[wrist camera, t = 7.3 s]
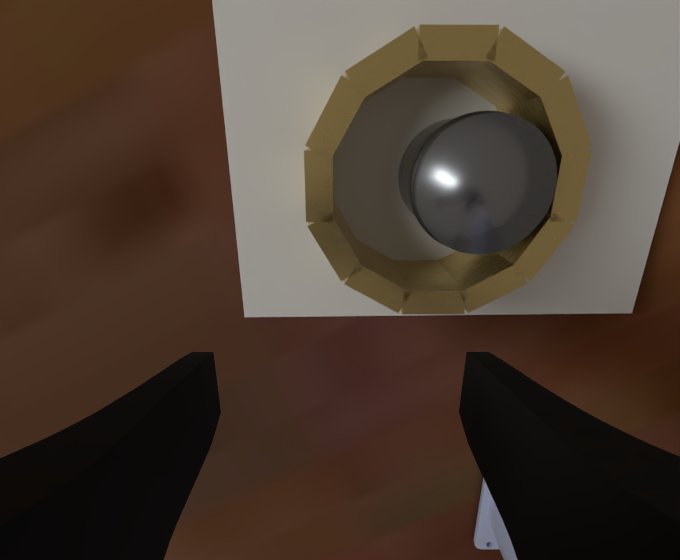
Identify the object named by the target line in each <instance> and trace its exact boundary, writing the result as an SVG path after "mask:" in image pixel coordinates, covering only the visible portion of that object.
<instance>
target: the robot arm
mask: <svg viewBox="0 0 680 560" xmlns="http://www.w3.org/2000/svg"><path fill="white" fill-rule="evenodd" d="M220 413H221V410H220V402H219V394H218V386H217V378H216V370H215V362H214V354H213V352H191V353H189V354H188V355H186V356H184V357H183V358H181V359H179V360H178V361H176V362H175V363H173V364H172V365H170V366H169V367H167V368H166V369H164V370H163V371H161V372H160V373H158V374H157V375H155V376H154V377H152V378H151V379H149V380H148V381H146V382H145V383H143V384H142V385H140V386H139V387H137V388H135V389H134V390H132V391H131V392H129V393H127V394H126V395H124V396H122V397H121V398H119V399H117V400H116V401H114V402H112V403H111V404H109V405H108V406H106V407H104V408H103V409H101V410H99V411H97V412H96V413H94V414H92V415H90V416H89V417H87V418H85V419H83V420H81V421H79V422H77V423H75V424H73V425H72V426H70V427H68V428H66V429H64V430H62V431H60V432H58V433H56V434H54V435H52V436H50V437H47V438H45V439H43V440H41V441H39V442H36V443H34V444H32V445H29V446H27V447H25V448H23V449H20V450H18V451H16V452H14V453H11V454H9V455H7V456H4V457H2V458H0V560H164V557H165V554H166V551H167V548H168V545H169V542H170V539H171V537H172V534H173V532H174V529H175V527H176V524H177V522H178V519H179V517H180V515H181V513H182V510H183V508H184V506H185V504H186V501H187V499H188V497H189V495H190V492H191V490H192V488H193V485H194V483H195V481H196V479H197V476H198V474H199V472H200V470H201V467H202V465H203V463H204V460H205V458H206V456H207V454H208V451H209V449H210V446H211V444H212V441H213V437H214V434H215V431H216V427H217V424H218V420H219V416H220ZM459 413H460V417H461V420H462V424H463V428H464V431H465V434H466V437H467V441H468V444H469V446H470V449H471V451H472V453H473V455H474V458H475V460H476V462H477V465H478V467H479V469H480V471H481V473H482V476H483V484H482V490H481V496H480V503H479V509H478V515H477V522H476V528H475V535H474V543H475V546H476V547H477V548H478V549H500V551H501V554H502V556H503V559H504V560H680V457H679V456H677V455H674V454H672V453H669V452H667V451H665V450H662V449H660V448H658V447H655V446H653V445H651V444H648V443H646V442H644V441H642V440H640V439H637V438H635V437H633V436H631V435H629V434H627V433H625V432H623V431H621V430H619V429H617V428H615V427H613V426H611V425H609V424H607V423H605V422H603V421H601V420H599V419H597V418H595V417H593V416H592V415H590V414H588V413H586V412H584V411H583V410H581V409H579V408H577V407H576V406H574V405H572V404H570V403H569V402H567V401H565V400H564V399H562V398H560V397H559V396H557V395H555V394H554V393H552V392H551V391H549V390H547V389H546V388H544V387H543V386H541V385H539V384H538V383H536V382H535V381H533V380H532V379H530V378H529V377H527V376H526V375H524V374H523V373H521V372H520V371H518V370H516V369H515V368H513V367H512V366H510V365H509V364H507V363H506V362H504V361H503V360H501V359H499V358H498V357H496V356H494V355H493V354H491V353H489V352H467V354H466V362H465V369H464V377H463V385H462V393H461V400H460V408H459Z"/></svg>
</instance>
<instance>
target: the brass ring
mask: <svg viewBox="0 0 680 560" xmlns="http://www.w3.org/2000/svg"><path fill="white" fill-rule="evenodd" d="M564 72H565V71H564V70H563V69H562V68H560V67H559V66H558V65H556V64H555V63H554V62H552V61H551V60H550V59H548V58H547V57H545V56H544V55H543V54H541V53H540V52H539V51H537V50H536V49H535V48H533V47H532V46H531V45H529V44H528V43H526V42H525V41H524V40H522V39H521V38H520V37H518V36H517V35H516V34H514V33H513V32H512V31H510V30H509V29H508V28H506V27H505V26H504V27H503V28H501V29H500V30H499V25H425V24H420V25H419V26H418V28H417V29H415V26H414V27H412V28H411V29H409V30H408V31H406V32H405V33H403V34H401V35H400V36H398V37H397V38H395V39H394V40H392V41H391V42H389V43H388V44H386V45H384V46H383V47H381V48H380V49H378V50H377V51H375V52H374V53H372V54H370V55H369V56H367V57H366V58H364V59H363V60H361V61H360V62H358V63H357V64H355V65H353V66H352V67H350V68H349V69H347V70H346V71H345V76H342V75H341V77H340V79H339V81H338V83H337V84H336V86H335V88H334V90H333V92H332V94H331V96H330V98H329V100H328V102H327V104H326V106H325V108H324V110H323V112H322V113H321V115H320V117H319V119H318V121H317V123H316V125H315V127H314V129H313V131H312V133H311V135H310V137H309V139H308V141H307V143H306V144H305V146H307V147H308V149H306V150H304V173H305V206H306V222H309V223H308V226H307V227H308V228H309V230H310V232H311V233H312V235H313V237H314V238H315V240H316V241H317V243H318V245H319V246H320V248H321V250H322V251H323V253H324V254H325V256H326V258H327V259H328V261H329V263H330V264H331V266H332V267H333V269H334V271H335V272H336V274H337V276H338V277H339V279H340V280H341V281H343V280H344V284H345V285H346V286H348V287H350V288H352V289H354V290H356V291H358V292H359V293H361V294H363V295H365V296H367V297H369V298H371V299H372V300H374V301H376V302H378V303H380V304H382V305H384V306H385V307H387V308H389V309H391V310H393V311H395V312H397V313H399V311H400V310H401V313H402V314H464V311H465V309H466V310H467V312H468V313H470V312H472V311H474V310H476V309H478V308H480V307H482V306H484V305H486V304H488V303H490V302H492V301H494V300H496V299H498V298H500V297H502V296H504V295H506V294H508V293H510V292H512V291H514V290H516V289H518V288H520V287H522V286H524V285H526V284H527V282H526V280H525V278H527V279H529V280H530V281H531V280H532V279H533V278H534V276H535V275H536V274H537V273H538V271H539V270H540V269H541V268H542V266H543V265H544V264H545V263H546V261H547V260H548V259H549V258H550V256H551V255H552V254H553V253H554V251H555V250H556V249H557V248H558V246H559V245H560V244H561V243H562V241H563V240H564V239H565V237H566V236H567V235H568V234H569V232H570V231H571V230H572V229H573V227H574V226H573V225H572V224H570V223H569V222H577V218H578V213H579V208H580V203H581V199H582V194H583V189H584V185H585V180H586V175H587V171H588V166H589V161H590V156H591V152H592V151H591V150H584V149H586V148H588V147H590V146H591V142H590V139H589V136H588V133H587V130H586V127H585V124H584V121H583V118H582V115H581V112H580V109H579V106H578V103H577V100H576V97H575V94H574V91H573V88H572V85H571V82H570V79H569V76H564V77H562V75H563V74H564ZM402 78H456V79H457V80H458V81H460V82H461V83H463V84H464V85H466V86H467V87H469V88H470V89H472V90H473V91H474V92H476V93H477V94H479V95H480V96H482V97H483V98H485V99H486V100H488V101H489V102H490V103H492V104H493V105H495V106H496V109H497V111H499V112H504V113H508V114H512V115H516V116H518V117H521V118H524V119H525V120H527V121H529V122H531V123H532V124H533V125H534V126H536V127H537V128H538V129H539V130H540V131H541V132H542V133H543V134H544V136H545V137H546V139H547V140H548V142H549V143H550V145H551V148H552V150H553V153H554V156H555V159H556V166H557V183H556V189H555V193H554V197H553V200H552V202H551V205H550V207H549V209H548V211H547V213H546V215H545V216H544V218H543V219H542V221H541V222H540V223H539V224H538V226H537V227H536V228H535V229H534V230H533V231H532V232H531V233H530V234H529V235H528V236H526V237H525V238H524V239H523V240H521V241H520V242H518V243H516V244H515V245H513V246H511V247H509V248H507V249H504V250H501V251H498V252H495V253H490V254H480V255H477V254H467V253H462V252H459V251H455V252H453V253H451V254H449V255H447V256H445V257H443V258H442V259H440V260H416V261H394V260H392V259H391V258H389V257H387V256H385V255H383V254H382V253H380V252H378V251H376V250H375V249H373V248H371V247H369V246H368V245H366V244H364V243H362V242H360V241H359V240H357V239H356V238H355V236H354V234H353V232H352V231H351V229H350V227H349V225H348V224H347V222H346V220H345V218H344V217H343V215H342V213H341V212H340V210H339V208H338V206H337V205H336V203H335V201H334V153H335V151H336V149H337V147H338V145H339V144H340V142H341V140H342V138H343V136H344V134H345V133H346V131H347V129H348V127H349V125H350V123H351V122H352V120H353V118H354V116H355V114H356V112H357V111H358V109H359V107H360V105H361V104H362V103H364V102H365V101H367V100H369V99H370V98H372V97H373V96H375V95H377V94H378V93H380V92H381V91H383V90H385V89H386V88H388V87H389V86H391V85H393V84H394V83H396V82H397V81H399V80H401V79H402Z"/></svg>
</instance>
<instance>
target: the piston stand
mask: <svg viewBox="0 0 680 560" xmlns="http://www.w3.org/2000/svg"><path fill="white" fill-rule="evenodd" d="M212 3H213V13H214V22H215V32H216V42H217V52H218V62H219V71H220V81H221V91H222V101H223V110H224V120H225V130H226V140H227V149H228V159H229V169H230V179H231V189H232V198H233V208H234V218H235V228H236V237H237V247H238V257H239V267H240V276H241V286H242V296H243V306H244V316H245V317H310V316H408V315H507V314H605V313H632V311H633V308H634V304H635V301H636V297H637V293H638V290H639V286H640V282H641V279H642V275H643V272H644V268H645V264H646V261H647V257H648V254H649V250H650V246H651V243H652V239H653V236H654V232H655V228H656V225H657V221H658V218H659V214H660V210H661V207H662V203H663V200H664V196H665V192H666V189H667V185H668V182H669V178H670V174H671V171H672V167H673V164H674V160H675V156H676V153H677V149H678V146H679V142H680V0H212ZM420 24H425V25H499V30H500V29H501V28H503V27H504V26H505V27H506V28H508V29H509V30H510V31H512V32H513V33H514V34H516V35H517V36H518V37H520V38H521V39H522V40H524V41H525V42H526V43H528V44H529V45H531V46H532V47H533V48H535V49H536V50H537V51H539V52H540V53H541V54H543V55H544V56H545V57H547V58H548V59H550V60H551V61H552V62H554V63H555V64H556V65H558V66H559V67H560V68H562V69H563V70H564V71H565V72H564V74H563V75H562V77H564V76H569V79H570V82H571V85H572V88H573V91H574V94H575V97H576V100H577V103H578V106H579V109H580V112H581V115H582V118H583V121H584V124H585V127H586V130H587V133H588V136H589V139H590V142H591V146H590V147H588V148H586V149H584V150H591V151H592V152H591V156H590V161H589V166H588V171H587V175H586V180H585V185H584V189H583V194H582V199H581V203H580V208H579V213H578V218H577V222H569V223H570V224H572V225H573V226H574V227H573V229H572V230H571V231H570V232H569V234H568V235H567V236H566V237H565V239H564V240H563V241H562V243H561V244H560V245H559V246H558V248H557V249H556V250H555V251H554V253H553V254H552V255H551V256H550V258H549V259H548V260H547V261H546V263H545V264H544V265H543V266H542V268H541V269H540V270H539V271H538V273H537V274H536V275H535V276H534V278H533V279H532V280H531V281H530V280H529V279H527V278H525V280H526V282H527V284H526V285H524V286H522V287H520V288H518V289H516V290H514V291H512V292H510V293H508V294H506V295H504V296H502V297H500V298H498V299H496V300H494V301H492V302H490V303H488V304H486V305H484V306H482V307H480V308H478V309H476V310H474V311H472V312H470V313H468V312H467V310H466V309H465V311H464V314H402V313H401V310H400V311H399V313H397V312H395V311H393V310H391V309H389V308H387V307H385V306H384V305H382V304H380V303H378V302H376V301H374V300H372V299H371V298H369V297H367V296H365V295H363V294H361V293H359V292H358V291H356V290H354V289H352V288H350V287H348V286H346V285H345V284H344V280H343V281H341V280H340V279H339V277H338V276H337V274H336V272H335V271H334V269H333V267H332V266H331V264H330V263H329V261H328V259H327V258H326V256H325V254H324V253H323V251H322V250H321V248H320V246H319V245H318V243H317V241H316V240H315V238H314V237H313V235H312V233H311V232H310V230H309V228H308V227H307V226H308V223H309V222H306V206H305V173H304V150H306V149H308V147H307V146H305V144H306V143H307V141H308V139H309V137H310V135H311V133H312V131H313V129H314V127H315V125H316V123H317V121H318V119H319V117H320V115H321V113H322V112H323V110H324V108H325V106H326V104H327V102H328V100H329V98H330V96H331V94H332V92H333V90H334V88H335V86H336V84H337V83H338V81H339V79H340V77H341V75H342V76H345V71H346V70H347V69H349V68H350V67H352V66H353V65H355V64H357V63H358V62H360V61H361V60H363V59H364V58H366V57H367V56H369V55H370V54H372V53H374V52H375V51H377V50H378V49H380V48H381V47H383V46H384V45H386V44H388V43H389V42H391V41H392V40H394V39H395V38H397V37H398V36H400V35H401V34H403V33H405V32H406V31H408V30H409V29H411V28H412V27H414V26H415V29H417V28H418V26H419V25H420ZM556 183H557V166H556V159H555V156H554V153H553V150H552V148H551V145H550V143H549V142H548V140H547V139H546V137H545V136H544V134H543V133H542V132H541V131H540V130H539V129H538V128H537V127H536V126H534V125H533V124H532V123H531V122H529V121H527V120H525V119H524V118H521V117H518V116H516V115H512V114H508V113H504V112H499V111H497V109H496V106H495V105H493V104H492V103H490V102H489V101H488V100H486V99H485V98H483V97H482V96H480V95H479V94H477V93H476V92H474V91H473V90H472V89H470V88H469V87H467V86H466V85H464V84H463V83H461V82H460V81H458V80H457V79H456V78H402V79H401V80H399V81H397V82H396V83H394V84H393V85H391V86H389V87H388V88H386V89H385V90H383V91H381V92H380V93H378V94H377V95H375V96H373V97H372V98H370V99H369V100H367V101H365V102H364V103H362V104H361V105H360V107H359V109H358V111H357V112H356V114H355V116H354V118H353V120H352V122H351V123H350V125H349V127H348V129H347V131H346V133H345V134H344V136H343V138H342V140H341V142H340V144H339V145H338V147H337V149H336V151H335V153H334V201H335V203H336V205H337V206H338V208H339V210H340V212H341V213H342V215H343V217H344V218H345V220H346V222H347V224H348V225H349V227H350V229H351V231H352V232H353V234H354V236H355V238H356V239H357V240H359V241H360V242H362V243H364V244H366V245H368V246H369V247H371V248H373V249H375V250H376V251H378V252H380V253H382V254H383V255H385V256H387V257H389V258H391V259H392V260H394V261H416V260H440V259H442V258H443V257H445V256H447V255H449V254H451V253H453V252H455V251H459V252H462V253H467V254H477V255H480V254H490V253H495V252H498V251H501V250H504V249H507V248H509V247H511V246H513V245H515V244H516V243H518V242H520V241H521V240H523V239H524V238H525V237H526V236H528V235H529V234H530V233H531V232H532V231H533V230H534V229H535V228H536V227H537V226H538V224H539V223H540V222H541V221H542V219H543V218H544V216H545V215H546V213H547V211H548V209H549V207H550V205H551V202H552V200H553V197H554V193H555V189H556Z"/></svg>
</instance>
